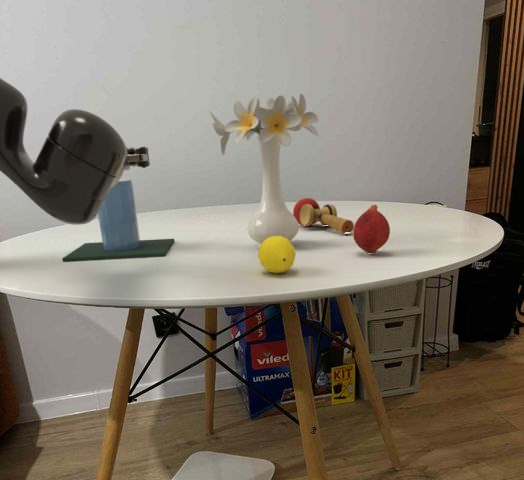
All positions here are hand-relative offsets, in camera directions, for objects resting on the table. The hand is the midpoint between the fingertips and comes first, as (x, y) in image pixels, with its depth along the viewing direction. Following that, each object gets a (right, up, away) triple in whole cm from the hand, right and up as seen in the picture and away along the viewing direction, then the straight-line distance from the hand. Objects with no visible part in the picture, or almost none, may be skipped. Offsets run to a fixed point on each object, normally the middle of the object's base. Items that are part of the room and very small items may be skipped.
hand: (102, 157), depth 78 cm
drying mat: (-1, -11, +16) cm, 20 cm away
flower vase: (+27, -12, +13) cm, 32 cm away
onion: (+43, -15, +4) cm, 46 cm away
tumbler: (-2, 0, +12) cm, 12 cm away
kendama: (+38, -5, +28) cm, 48 cm away
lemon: (+27, -19, -4) cm, 34 cm away
